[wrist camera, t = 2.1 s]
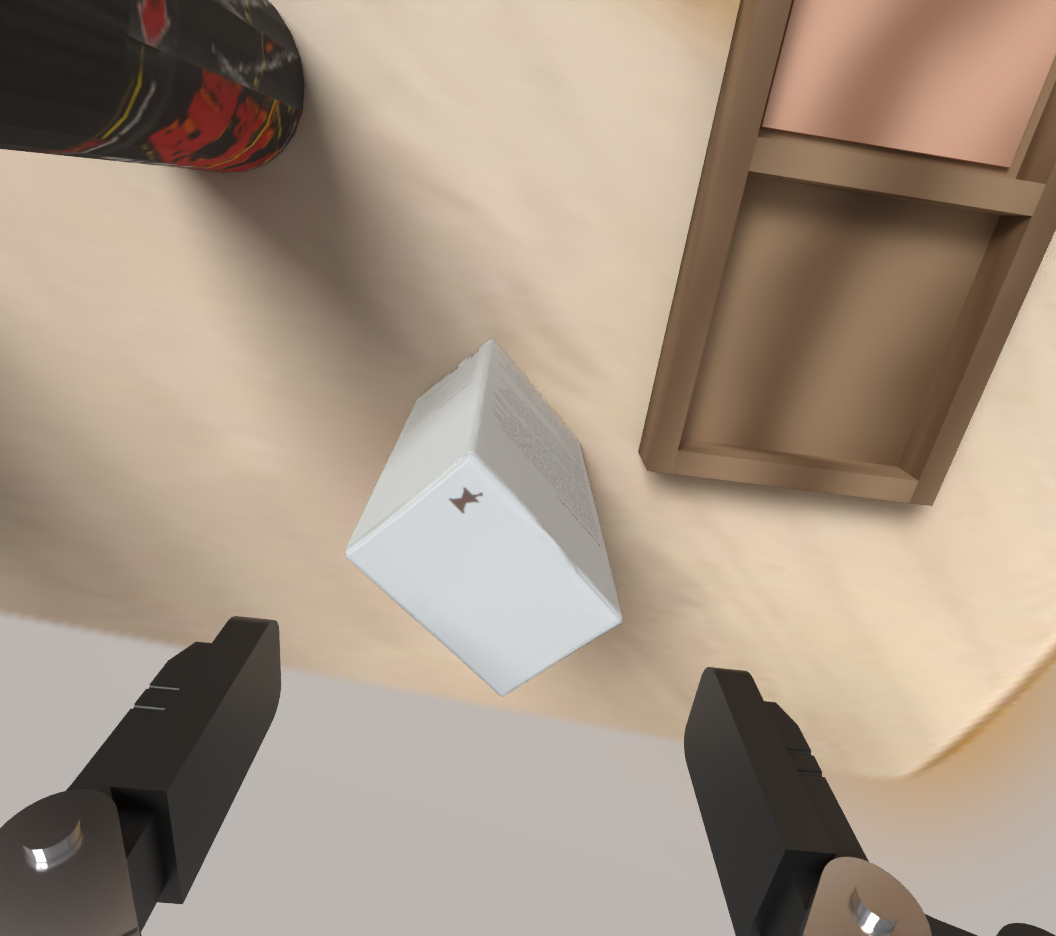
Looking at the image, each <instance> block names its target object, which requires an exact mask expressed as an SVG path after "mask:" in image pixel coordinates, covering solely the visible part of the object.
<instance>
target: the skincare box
mask: <svg viewBox="0 0 1056 936" xmlns="http://www.w3.org/2000/svg"><path fill="white" fill-rule="evenodd" d="M345 556H346V558H347V559H348V560H349V561H350V562H352V563H353V564H354V565H355V566H356V567H357V568H358V569H360V570H361V571H362V572H363V573H364V574H365V575H366V576H367V577H368V578H370V579H371V580H372V581H373V582H374V583H375V584H376V585H377V586H378V587H380V588H381V589H382V590H383V591H384V592H385V593H386V594H387V595H388V596H389V597H391V598H392V599H393V600H394V601H395V602H396V603H397V604H398V605H400V606H401V607H402V608H403V609H404V610H405V611H406V612H407V613H409V614H410V615H411V616H412V617H413V618H414V619H415V620H416V621H418V622H419V623H420V624H421V625H422V626H423V627H424V628H426V629H427V630H428V631H429V632H430V633H431V634H432V635H433V636H435V637H436V638H437V639H438V640H439V641H440V642H441V643H443V644H444V645H445V646H446V647H447V648H448V649H449V650H450V651H451V652H452V653H454V654H455V655H456V656H457V657H458V658H459V659H460V660H461V661H462V662H463V663H465V664H466V665H467V666H468V667H469V668H470V669H471V670H472V671H474V672H475V673H476V674H477V675H478V676H479V677H480V678H481V679H482V680H484V681H485V682H486V683H487V684H488V685H489V686H490V687H491V688H492V689H493V690H494V691H495V692H496V693H497V694H498V695H500V696H502V697H503V696H505V695H507V694H508V693H510V692H511V691H513V690H514V689H516V688H517V687H519V686H520V685H522V684H524V683H525V682H527V681H528V680H530V679H531V678H533V677H534V676H536V675H538V674H539V673H541V672H542V671H544V670H545V669H547V668H549V667H550V666H552V665H553V664H555V663H557V662H558V661H560V660H562V659H563V658H565V657H567V656H568V655H570V654H572V653H573V652H575V651H576V650H578V649H580V648H581V647H583V646H584V645H586V644H588V643H589V642H591V641H593V640H594V639H596V638H598V637H599V636H601V635H603V634H604V633H606V632H608V631H610V630H611V629H613V628H615V627H616V626H618V625H620V624H621V623H622V621H623V614H622V611H621V607H620V603H619V599H618V595H617V591H616V587H615V584H614V579H613V574H612V570H611V567H610V562H609V558H608V554H607V550H606V546H605V542H604V538H603V534H602V530H601V526H600V522H599V518H598V513H597V510H596V506H595V502H594V498H593V494H592V490H591V486H590V482H589V478H588V475H587V470H586V466H585V462H584V458H583V454H582V450H581V446H580V443H579V441H578V440H577V439H576V438H575V436H574V435H573V434H572V433H571V432H570V430H569V429H568V428H567V427H566V426H565V424H564V423H563V422H562V421H561V420H560V418H559V417H558V416H557V415H556V414H555V412H554V411H553V410H552V409H551V408H550V406H549V405H548V404H547V403H546V402H545V400H544V399H543V398H542V397H541V395H540V394H539V393H538V392H537V391H536V389H535V388H534V387H533V386H532V385H531V383H530V382H529V381H528V380H527V379H526V377H525V376H524V375H523V374H522V373H521V371H520V370H519V369H518V368H517V367H516V365H515V364H514V363H513V362H512V361H511V359H510V358H509V357H508V356H507V355H506V353H505V352H504V351H503V350H502V349H501V348H500V346H499V345H498V344H497V342H496V341H495V340H494V339H492V338H491V339H489V340H488V341H487V342H486V343H485V344H483V345H482V346H481V347H480V348H479V349H477V350H476V351H475V352H474V353H472V354H471V355H470V356H469V357H467V358H466V359H465V360H464V361H462V362H461V363H460V364H459V365H457V366H456V367H455V368H454V369H453V370H452V371H450V372H449V373H448V374H447V375H446V376H445V377H443V378H442V379H441V380H440V381H439V382H438V383H436V384H435V385H434V386H433V387H432V388H430V389H429V390H428V391H427V392H426V393H424V394H423V395H422V396H420V397H419V398H418V399H417V400H416V402H415V404H414V407H413V409H412V411H411V413H410V415H409V417H408V419H407V421H406V423H405V425H404V427H403V430H402V432H401V434H400V436H399V438H398V440H397V442H396V444H395V447H394V449H393V451H392V453H391V455H390V457H389V459H388V461H387V463H386V466H385V468H384V469H383V472H382V474H381V476H380V478H379V480H378V482H377V484H376V486H375V489H374V491H373V493H372V495H371V497H370V499H369V501H368V503H367V505H366V507H365V510H364V512H363V514H362V516H361V518H360V520H359V522H358V524H357V526H356V528H355V530H354V532H353V535H352V537H351V539H350V541H349V543H348V545H347V548H346V550H345Z"/></svg>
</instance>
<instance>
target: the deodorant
mask: <svg viewBox="0 0 1056 936" xmlns="http://www.w3.org/2000/svg"><path fill="white" fill-rule="evenodd" d="M303 97H304V79H303V73H302V66H301V59H300V56H299V53H298V51H297V48H296V45H295V43H294V40H293V38H292V35H291V32H290V30H289V29H288V27H287V26H286V24H285V23H284V21H283V20H282V18H281V16H280V15H279V13H278V12H277V10H276V9H275V7H274V6H273V5H272V4H271V3H270V2H269V1H268V0H0V149H7V150H17V151H26V152H36V153H45V154H55V155H64V156H74V157H83V158H93V159H102V160H112V161H121V162H131V163H140V164H150V165H159V166H169V167H178V168H188V169H197V170H207V171H216V172H245V171H248V170H251V169H254V168H257V167H260V166H263V165H265V164H267V163H268V162H269V161H271V160H272V159H273V158H274V157H276V156H277V155H278V154H280V153H281V152H282V151H283V150H284V148H285V147H286V145H287V144H288V142H289V141H290V140H291V138H292V137H293V135H294V134H295V131H296V128H297V125H298V122H299V119H300V116H301V113H302V109H303Z"/></svg>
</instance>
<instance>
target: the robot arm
mask: <svg viewBox="0 0 1056 936" xmlns="http://www.w3.org/2000/svg"><path fill="white" fill-rule="evenodd" d="M280 691H281V670H280V641H279V626H278V623H277V621H275V620H268V619H258V618H249V617H239V616H233V617H231V618H230V619H229V620H228V622H227V623H226V624H225V626H224V627H223V628H222V630H221V631H220V633H219V634H218V635H217V637H216V638H215V640H214V641H213V642H212V643H204V642H195V643H193V644H192V645H190V646H189V647H188V648H186V649H185V650H183V651H182V652H180V653H179V654H177V655H176V656H174V657H173V658H172V659H170V660H168V662H167V663H166V664H165V666H164V667H163V668H162V669H161V671H160V672H159V673H158V675H157V676H156V677H155V678H154V680H153V681H152V682H151V684H150V687H149V689H146V690H145V691H144V692H143V694H142V695H141V696H140V697H139V699H138V700H137V701H136V703H135V706H134V708H133V709H130V710H129V712H128V713H127V714H126V715H125V717H124V718H123V719H122V721H121V722H120V723H119V724H118V726H117V727H116V728H115V729H114V731H113V732H112V733H111V735H110V736H109V737H108V739H107V740H106V741H105V742H104V744H103V745H102V746H101V747H100V749H99V750H98V751H97V752H96V754H95V755H94V756H93V758H92V759H91V760H90V761H89V763H88V764H87V765H86V767H85V768H84V769H83V770H82V772H81V773H80V774H79V775H78V777H77V778H76V779H75V781H74V782H73V783H72V785H71V786H70V787H69V788H68V789H67V790H66V791H64V792H60V793H57V794H54V795H50V796H48V797H46V798H43V799H41V800H39V801H37V802H35V803H33V804H32V805H29V806H28V807H26V808H25V809H23V810H22V811H20V812H19V813H17V814H16V815H15V816H13V817H12V818H11V819H10V820H8V821H7V822H6V823H5V824H4V825H3V826H2V827H1V828H0V936H141V931H142V929H143V927H144V926H145V924H146V922H147V920H148V918H149V916H150V914H151V912H152V910H153V909H154V907H155V905H156V903H157V902H162V903H174V904H183V902H184V900H185V898H186V896H187V894H188V892H189V890H190V888H191V886H192V884H193V882H194V880H195V878H196V876H197V874H198V872H199V870H200V868H201V866H202V864H203V862H204V859H205V857H206V855H207V853H208V851H209V849H210V847H211V845H212V843H213V841H214V839H215V837H216V835H217V833H218V831H219V829H220V827H221V825H222V823H223V821H224V819H225V817H226V815H227V813H228V811H229V809H230V806H231V804H232V803H233V800H234V798H235V796H236V794H237V792H238V790H239V788H240V786H241V784H242V782H243V780H244V778H245V776H246V774H247V772H248V770H249V767H250V766H251V764H252V762H253V760H254V758H255V756H256V753H257V751H258V749H259V747H260V745H261V743H262V741H263V739H264V737H265V735H266V733H267V731H268V729H269V727H270V725H271V723H272V721H273V718H274V716H275V713H276V710H277V706H278V702H279V698H280ZM684 750H685V758H686V762H687V766H688V770H689V773H690V777H691V780H692V784H693V787H694V791H695V794H696V798H697V801H698V805H699V808H700V812H701V815H702V819H703V823H704V826H705V830H706V833H707V836H708V840H709V843H710V847H711V851H712V854H713V858H714V861H715V864H716V868H717V871H718V875H719V878H720V882H721V886H722V889H723V893H724V896H725V899H726V903H727V907H728V910H729V913H730V917H731V921H732V924H733V928H734V931H735V935H736V936H977V935H975V934H972V933H970V932H967V931H965V930H962V929H960V928H957V927H955V926H952V925H950V924H947V923H945V922H942V921H940V920H937V919H935V918H933V917H930V916H928V915H926V914H924V912H923V910H922V908H921V907H920V905H919V904H918V902H917V901H916V899H915V898H914V897H913V895H912V894H911V893H910V892H909V891H908V890H907V889H906V888H905V887H904V886H903V885H902V884H901V883H900V882H899V881H898V880H897V879H896V878H894V877H893V876H892V875H891V874H889V873H888V872H886V871H885V870H883V869H882V868H880V867H878V866H876V865H875V864H873V863H870V862H869V861H868V859H867V858H866V856H865V854H864V852H863V850H862V848H861V846H860V844H859V842H858V840H857V838H856V836H855V834H854V833H853V831H852V829H851V827H850V825H849V823H848V821H847V819H846V817H845V815H844V813H843V811H842V809H841V807H840V806H839V804H838V802H837V800H836V798H835V796H834V794H833V792H832V790H831V788H830V786H829V784H828V783H827V780H826V779H825V777H822V771H821V769H820V767H819V765H818V763H817V761H816V759H815V757H814V756H811V750H810V748H809V746H808V744H807V742H806V740H805V738H804V736H803V734H802V732H801V730H800V728H799V727H798V725H797V724H796V723H795V722H794V721H793V720H792V719H791V718H790V717H789V716H788V715H787V714H786V713H785V712H784V711H783V709H782V708H781V707H780V706H779V705H778V704H777V703H775V702H766V701H763V698H762V696H761V694H760V692H759V690H758V688H757V686H756V684H755V682H754V680H753V678H752V676H751V674H750V673H749V672H747V671H741V670H732V669H722V668H713V667H707V668H706V669H705V670H704V672H703V674H702V676H701V680H700V683H699V686H698V689H697V692H696V696H695V699H694V702H693V705H692V708H691V712H690V715H689V718H688V721H687V724H686V729H685V736H684ZM996 936H1055V935H1053V934H1051V933H1049V932H1047V931H1045V930H1043V929H1041V928H1038V927H1035V926H1032V925H1028V924H1024V923H1012V924H1008V925H1006V926H1004V927H1003V928H1002V929H1001V930H1000V931H999V932H998V934H997V935H996Z"/></svg>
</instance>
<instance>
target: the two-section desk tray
mask: <svg viewBox="0 0 1056 936" xmlns="http://www.w3.org/2000/svg"><path fill="white" fill-rule="evenodd" d="M1055 230H1056V0H741V1H740V6H739V10H738V15H737V19H736V23H735V28H734V32H733V37H732V41H731V46H730V50H729V54H728V59H727V63H726V68H725V72H724V76H723V81H722V85H721V90H720V94H719V98H718V103H717V107H716V112H715V116H714V120H713V125H712V129H711V134H710V138H709V143H708V147H707V151H706V156H705V160H704V165H703V169H702V173H701V178H700V182H699V187H698V191H697V195H696V200H695V204H694V209H693V213H692V218H691V222H690V226H689V231H688V235H687V240H686V244H685V248H684V253H683V257H682V262H681V266H680V270H679V275H678V279H677V284H676V288H675V293H674V297H673V301H672V306H671V310H670V315H669V319H668V323H667V328H666V332H665V337H664V341H663V345H662V350H661V354H660V359H659V363H658V367H657V372H656V376H655V381H654V385H653V390H652V394H651V398H650V403H649V407H648V412H647V416H646V420H645V425H644V429H643V434H642V438H641V442H640V447H639V451H638V452H639V454H640V456H641V459H642V461H643V463H644V465H645V467H646V469H647V471H654V472H662V473H670V474H678V475H686V476H694V477H702V478H710V479H718V480H727V481H735V482H743V483H751V484H759V485H767V486H775V487H783V488H791V489H799V490H807V491H816V492H824V493H832V494H840V495H848V496H856V497H864V498H872V499H880V500H888V501H896V502H905V503H913V504H921V505H929V506H932V505H933V503H934V501H935V498H936V496H937V494H938V492H939V489H940V487H941V485H942V483H943V481H944V478H945V476H946V474H947V472H948V469H949V467H950V465H951V463H952V460H953V458H954V456H955V454H956V451H957V449H958V447H959V445H960V442H961V440H962V438H963V436H964V434H965V431H966V429H967V427H968V425H969V422H970V420H971V418H972V416H973V413H974V411H975V409H976V407H977V404H978V402H979V400H980V398H981V395H982V393H983V391H984V389H985V386H986V384H987V382H988V380H989V378H990V375H991V373H992V371H993V369H994V366H995V364H996V362H997V360H998V357H999V355H1000V353H1001V351H1002V348H1003V346H1004V344H1005V342H1006V339H1007V337H1008V335H1009V333H1010V331H1011V328H1012V326H1013V324H1014V322H1015V319H1016V317H1017V315H1018V313H1019V310H1020V308H1021V306H1022V304H1023V301H1024V299H1025V297H1026V295H1027V292H1028V290H1029V288H1030V286H1031V283H1032V281H1033V279H1034V277H1035V275H1036V272H1037V270H1038V268H1039V266H1040V263H1041V261H1042V259H1043V257H1044V254H1045V252H1046V250H1047V248H1048V245H1049V243H1050V241H1051V239H1052V236H1053V234H1054V232H1055Z"/></svg>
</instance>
